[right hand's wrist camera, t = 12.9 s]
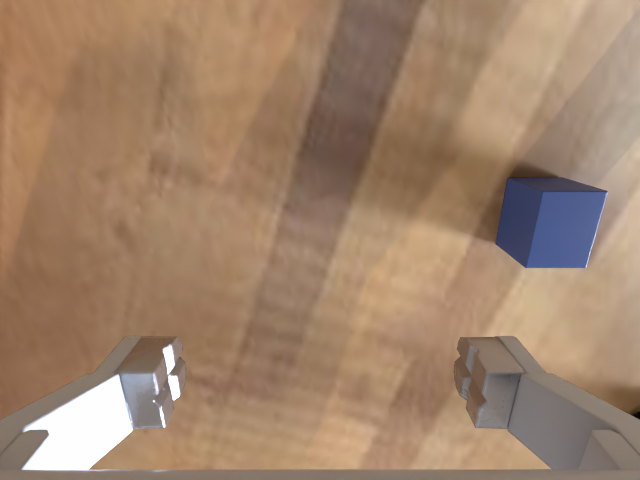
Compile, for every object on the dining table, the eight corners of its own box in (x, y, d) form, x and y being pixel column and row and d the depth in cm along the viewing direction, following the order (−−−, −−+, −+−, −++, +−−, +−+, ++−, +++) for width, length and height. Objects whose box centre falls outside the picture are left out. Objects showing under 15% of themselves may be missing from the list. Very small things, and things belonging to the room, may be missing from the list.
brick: (562, 177, 26) (608, 191, 22) (546, 243, 28) (586, 268, 24) (507, 177, 26) (542, 191, 22) (495, 244, 28) (525, 268, 24)
